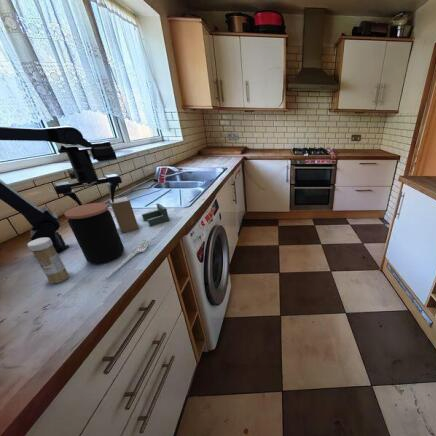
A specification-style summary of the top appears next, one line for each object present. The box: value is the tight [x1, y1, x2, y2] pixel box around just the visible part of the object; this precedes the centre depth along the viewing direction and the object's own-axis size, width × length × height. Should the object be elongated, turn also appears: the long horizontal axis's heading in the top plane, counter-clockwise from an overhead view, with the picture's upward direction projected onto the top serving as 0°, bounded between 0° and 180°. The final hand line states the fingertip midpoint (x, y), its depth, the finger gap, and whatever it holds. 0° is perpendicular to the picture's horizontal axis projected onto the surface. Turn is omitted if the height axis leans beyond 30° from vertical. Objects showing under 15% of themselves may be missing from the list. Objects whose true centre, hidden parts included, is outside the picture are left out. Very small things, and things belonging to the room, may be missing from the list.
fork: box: [104, 239, 150, 279], centre depth 77 cm, size 3×20×2 cm, turn 177°
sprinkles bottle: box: [26, 237, 70, 284], centre depth 66 cm, size 5×5×13 cm
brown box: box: [108, 196, 140, 234], centre depth 95 cm, size 6×6×13 cm
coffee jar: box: [63, 202, 125, 265], centre depth 75 cm, size 11×11×18 cm
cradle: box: [141, 202, 170, 227], centre depth 103 cm, size 8×9×6 cm
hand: (98, 204), depth 87 cm, fingers open, 9 cm apart
